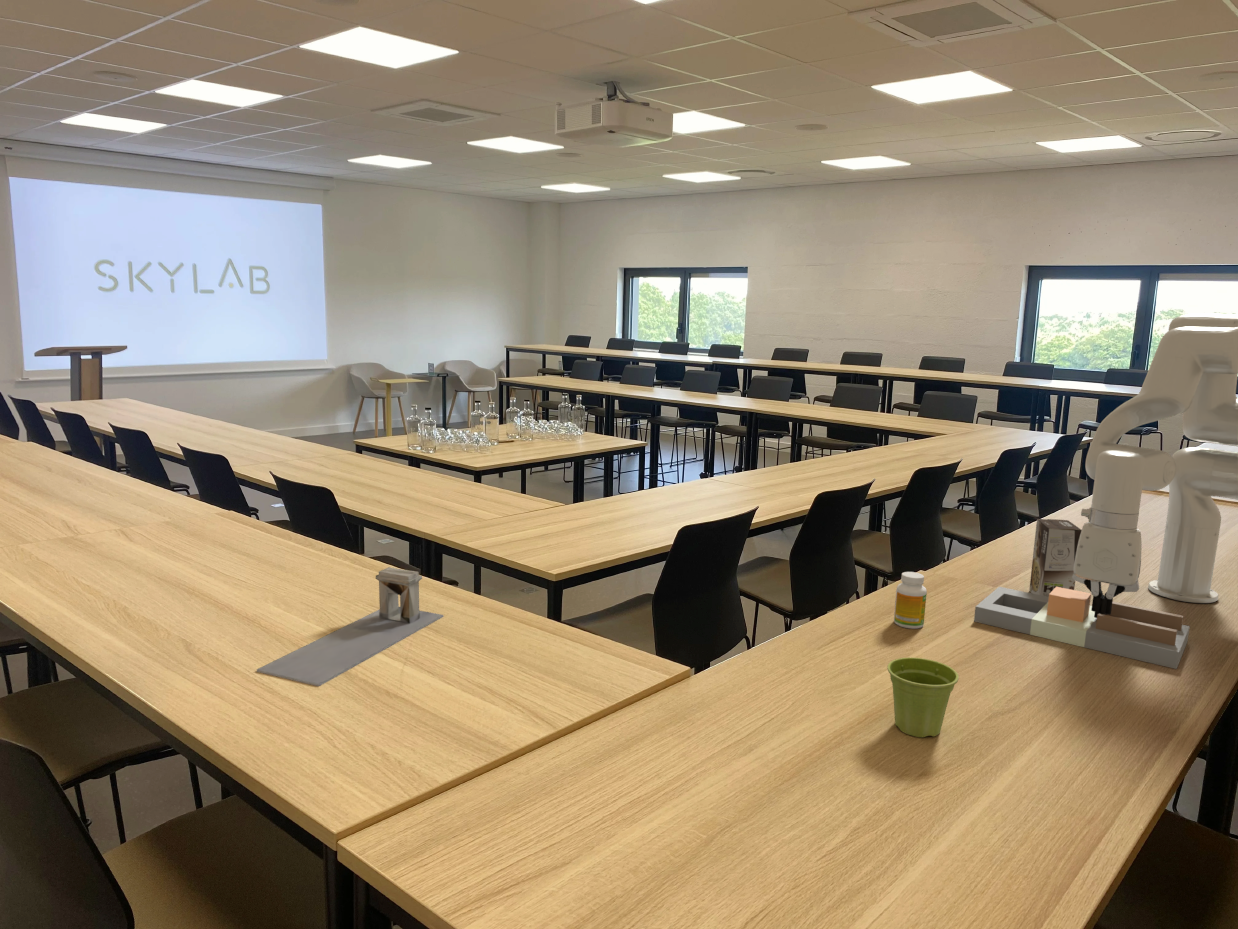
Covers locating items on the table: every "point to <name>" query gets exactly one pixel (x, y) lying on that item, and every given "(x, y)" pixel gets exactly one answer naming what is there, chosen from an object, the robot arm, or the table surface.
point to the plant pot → (920, 694)
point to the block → (1069, 604)
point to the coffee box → (1053, 556)
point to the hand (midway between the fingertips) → (1100, 616)
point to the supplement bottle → (910, 601)
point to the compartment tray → (1091, 626)
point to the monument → (359, 633)
